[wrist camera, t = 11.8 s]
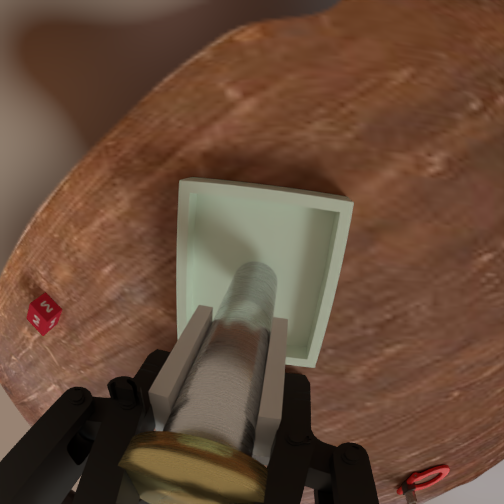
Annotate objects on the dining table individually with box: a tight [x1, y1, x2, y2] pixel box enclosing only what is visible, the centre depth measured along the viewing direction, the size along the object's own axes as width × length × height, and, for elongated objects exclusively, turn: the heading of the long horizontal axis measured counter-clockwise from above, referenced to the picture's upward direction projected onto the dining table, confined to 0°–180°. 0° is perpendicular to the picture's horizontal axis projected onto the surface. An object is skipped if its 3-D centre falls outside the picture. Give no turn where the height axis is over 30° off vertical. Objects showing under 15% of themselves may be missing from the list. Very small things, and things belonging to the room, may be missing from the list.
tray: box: [176, 177, 354, 368], centre depth 22 cm, size 12×14×2 cm
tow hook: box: [397, 465, 450, 504], centre depth 27 cm, size 8×13×9 cm
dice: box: [27, 292, 62, 336], centre depth 27 cm, size 3×3×3 cm
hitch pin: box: [118, 261, 278, 504], centre depth 14 cm, size 5×5×16 cm
